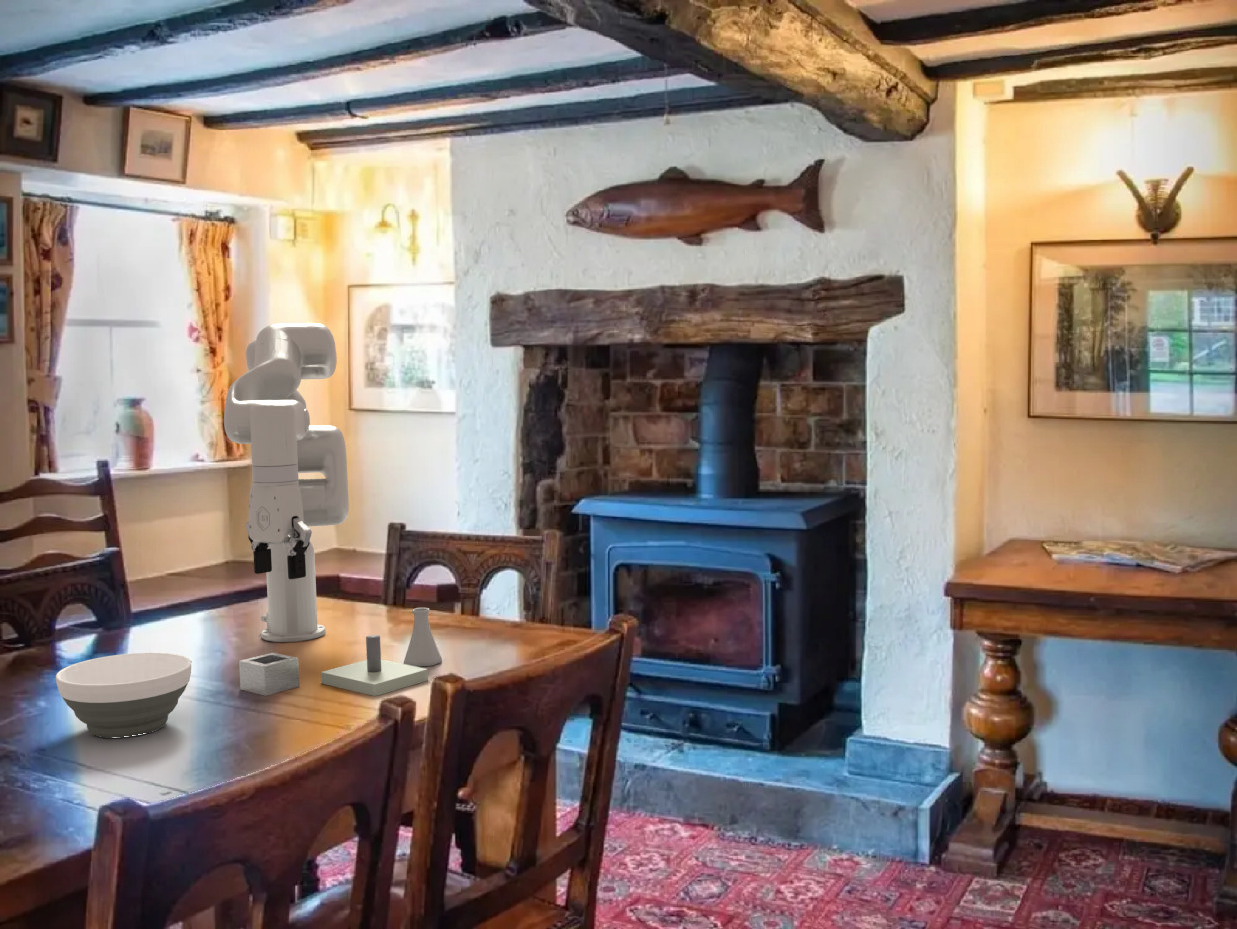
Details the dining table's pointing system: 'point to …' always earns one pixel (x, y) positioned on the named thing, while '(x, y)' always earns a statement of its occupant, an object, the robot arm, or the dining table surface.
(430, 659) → the flask
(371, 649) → the keeper
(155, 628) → the dining table surface
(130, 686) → the bowl
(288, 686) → the white square ring
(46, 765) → the dining table surface
